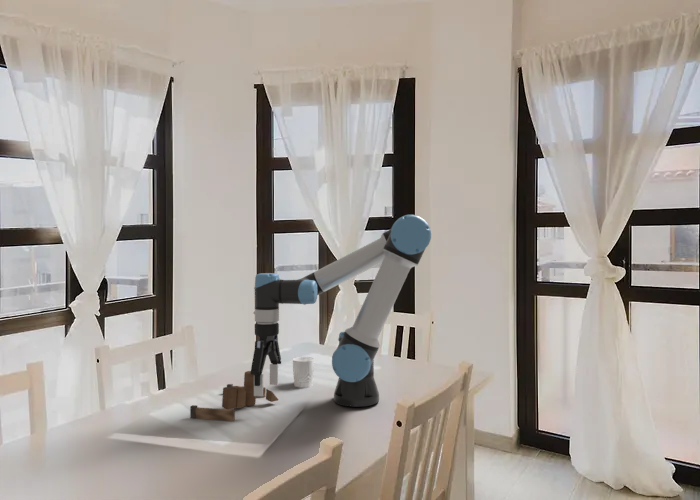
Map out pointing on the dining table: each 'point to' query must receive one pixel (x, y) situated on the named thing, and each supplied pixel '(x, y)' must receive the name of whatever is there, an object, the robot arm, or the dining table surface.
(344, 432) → the dining table surface
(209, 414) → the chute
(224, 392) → the wooden block set
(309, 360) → the white cup
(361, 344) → the robot arm
